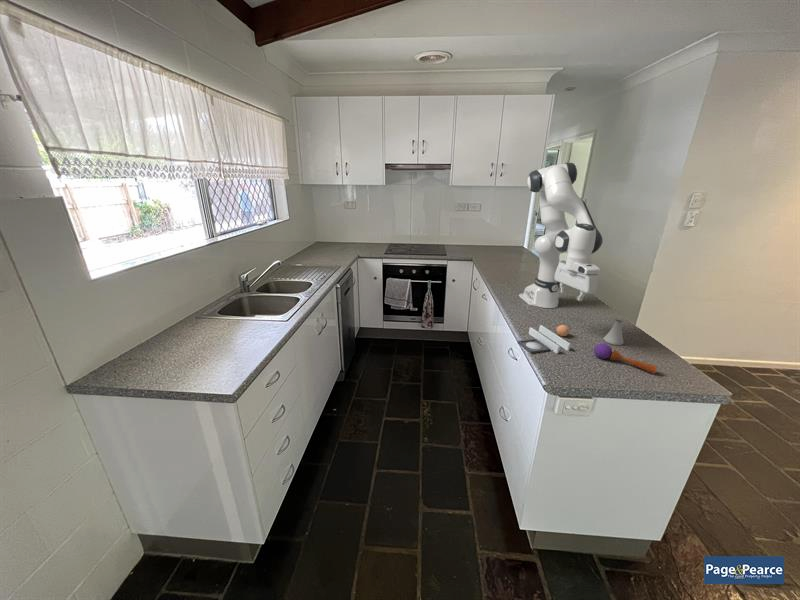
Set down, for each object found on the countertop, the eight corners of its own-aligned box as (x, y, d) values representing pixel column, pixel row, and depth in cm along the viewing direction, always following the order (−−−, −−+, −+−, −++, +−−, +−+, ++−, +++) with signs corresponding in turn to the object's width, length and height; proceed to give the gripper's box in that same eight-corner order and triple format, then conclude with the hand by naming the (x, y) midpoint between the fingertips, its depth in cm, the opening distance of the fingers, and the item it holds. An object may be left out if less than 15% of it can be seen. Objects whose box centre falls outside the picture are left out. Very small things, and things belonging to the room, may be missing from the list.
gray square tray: (517, 342, 136) (517, 340, 136) (535, 340, 139) (536, 338, 138) (531, 353, 128) (531, 351, 128) (550, 351, 130) (550, 348, 130)
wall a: (538, 331, 147) (539, 325, 146) (540, 331, 147) (541, 325, 146) (567, 350, 131) (569, 344, 130) (569, 350, 131) (570, 344, 130)
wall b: (528, 333, 145) (529, 327, 144) (530, 333, 145) (531, 327, 144) (556, 353, 128) (558, 347, 127) (558, 353, 129) (559, 346, 128)
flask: (613, 346, 135) (619, 325, 131) (599, 338, 142) (605, 318, 138) (627, 344, 137) (633, 323, 133) (612, 337, 143) (618, 316, 140)
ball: (553, 333, 145) (555, 323, 143) (562, 332, 146) (564, 322, 145) (560, 338, 141) (563, 328, 139) (570, 337, 142) (572, 327, 140)
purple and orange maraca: (657, 369, 113) (594, 346, 124) (651, 381, 116) (590, 357, 127) (660, 359, 117) (598, 338, 128) (653, 371, 120) (594, 349, 131)
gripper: (553, 259, 141) (548, 289, 146) (590, 271, 122) (582, 305, 127) (566, 258, 142) (560, 288, 147) (603, 270, 124) (596, 304, 128)
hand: (571, 296), depth 137 cm, fingers open, 8 cm apart
